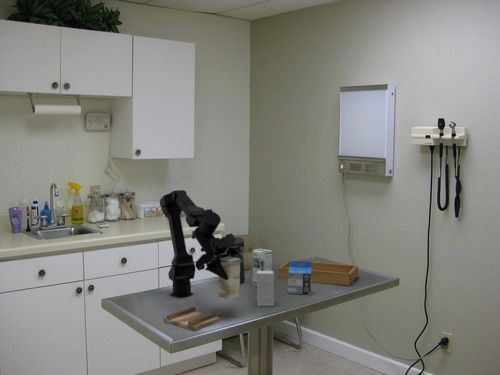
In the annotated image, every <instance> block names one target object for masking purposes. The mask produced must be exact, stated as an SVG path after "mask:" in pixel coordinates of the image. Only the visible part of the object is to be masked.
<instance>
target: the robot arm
mask: <svg viewBox="0 0 500 375" xmlns="http://www.w3.org/2000/svg"><path fill="white" fill-rule="evenodd" d="M159 206H160V208H161V211H162V213H163V215H164V216H165V217H166V219H167V220H168V225H169V232H170V236H171V238H170V239H171V244H172V248H173V258H172V259H171V267H170V269H169V271H168V279H169V280H170V281H171V282H172V292H170V293H169V295H170V296H173V297H176V298H181V299H182V298H185V297H188V296H191V295H194V292H192V289H191V288H192V286H191V285H192V283H191V280H194V279H195V276H196V274H195V273H196V269H197V271H202V270H205V271H209V272H211V274H212V273H213V274H214V275H216V276H218V278H219V277H221V278H223V279H225V280H228V276H227V274H226V273H225V271H224V269H223V268H222V266H221V264H220V258H224V257H234V258H236V257H237V256H238V255H239V254H240V253H241V252H242V250H241V249H240V247H239V246H234V247H230V248H229V249H228V248H227V247H228V246H230V245H234V242H235V241H236V238H235V236H234V234H233V233H228V234H226V235H225V236H224V237H221V238H220V237H216V236H215V235H214V233H215V231H216V230H217V228H218V226H219V225H220V223H221V220H222V218H221V216H220V215H219V214H218V213H216V212H215V211H213V209H211V208H210V209H209V208H206V209H204V208H203V207H201V206H197V205H196V203H195V202H194V201H193V200H192V199H191V198H190V197H189V195H188V194H187V191H186V190H184V189H179V190H178V189H177V190H173V191H171V192H169V193H167V194H165V195H163V196H161V198H160V199H159ZM182 212H183V213H184V215H185V222H186V224H187V225H188V227H189V228H195V229H194V230H192V232H191V233H192V234H191V239H192V240H195V239H196V241H197V243H198V244H199V246H200V247H201V248H200V252H201V253H202V252H204V253H203V254H201V256H200V257H199V258H198V259H197V260H196V262H194V256H193V255H192V254H189V253H188V251H187V246H186V240H185V235H184V230H183V224H182V219H181V214H182ZM227 249H228V250H227ZM225 250H227V251H226V252H224V251H225ZM205 266H206V268H205Z"/></svg>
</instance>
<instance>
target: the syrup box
mask: <svg viewBox="0 0 500 375" xmlns="http://www.w3.org/2000/svg"><path fill="white" fill-rule="evenodd" d="M272 255H273V250H269V249H264V248H257V249H253V250H252V280H251V281H252V283H251V284H252V286H256V287H257V271H273V270H272V266H273V265H272V262H273V261H272V259H273V256H272Z"/></svg>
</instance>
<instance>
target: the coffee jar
mask: <svg viewBox="0 0 500 375" xmlns="http://www.w3.org/2000/svg"><path fill="white" fill-rule="evenodd" d="M234 237H235V236H234ZM235 238H236V241H235V242H234V245H230V246H228V247H227V248H228V249H229V248H230V247H234V246H239V247H240V249H241V250H242V252H241V253H240V254H239V255H238V256H237V257H236V258H239V259H241V260H240V284H242V283H244V282H245V280H246V275H245V264H244V251H245V240H244V238H241V237H239V236H237V237H235ZM228 249H227V250H228ZM227 250H225V251H224V252H226V251H227Z"/></svg>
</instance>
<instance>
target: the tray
mask: <svg viewBox="0 0 500 375" xmlns="http://www.w3.org/2000/svg"><path fill="white" fill-rule="evenodd" d="M289 261H297V260H295V259H294V260H293V259H289V260H288V261H286V262H285V263H283V264H281V265H280V266H279V267H277V272H278V274H277V276H278V279H281V280H287V281H288V271H289ZM310 262H311V268H312V272H311V283H319V284H320V283H322V284H329V285H341V286H348V287H349V286H351V285H352V284H353V282H354V281H355V280H356V279H357V278H358V276H359V265H354V264H343V263H328V262H319V261H310ZM297 265H301V266H304V264H301V263H300V264H297Z"/></svg>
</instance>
